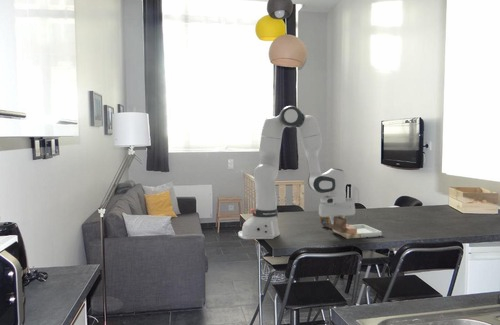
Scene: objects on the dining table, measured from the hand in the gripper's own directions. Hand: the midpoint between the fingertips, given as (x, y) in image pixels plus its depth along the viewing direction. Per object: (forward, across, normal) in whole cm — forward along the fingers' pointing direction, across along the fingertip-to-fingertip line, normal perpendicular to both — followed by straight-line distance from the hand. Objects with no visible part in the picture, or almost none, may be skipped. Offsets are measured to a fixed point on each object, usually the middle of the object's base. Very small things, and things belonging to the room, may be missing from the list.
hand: (337, 223), depth 191 cm
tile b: (+4, -6, +4) cm, 8 cm away
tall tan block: (+3, 0, 0) cm, 3 cm away
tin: (+6, -7, -18) cm, 20 cm away
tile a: (+4, -6, -4) cm, 8 cm away
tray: (+6, -16, 0) cm, 17 cm away
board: (+6, -6, 0) cm, 8 cm away
